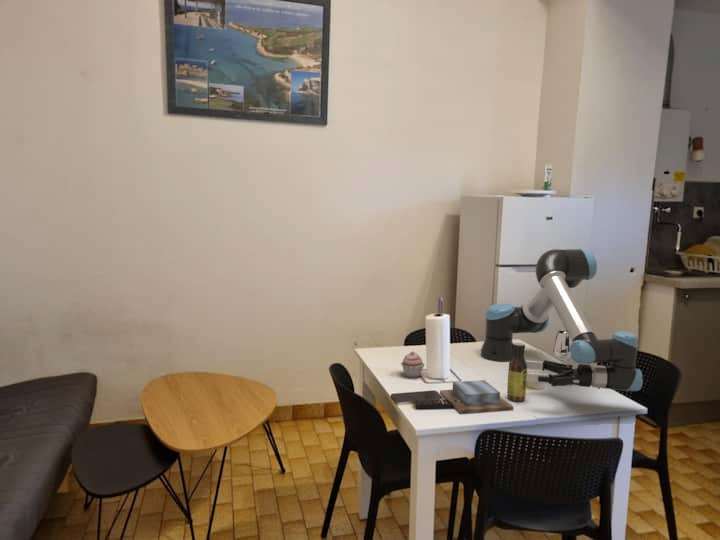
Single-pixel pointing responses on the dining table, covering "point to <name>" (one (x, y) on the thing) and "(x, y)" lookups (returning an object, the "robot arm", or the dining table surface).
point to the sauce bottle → (517, 374)
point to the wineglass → (562, 347)
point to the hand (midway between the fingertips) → (525, 370)
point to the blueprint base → (475, 408)
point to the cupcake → (412, 365)
